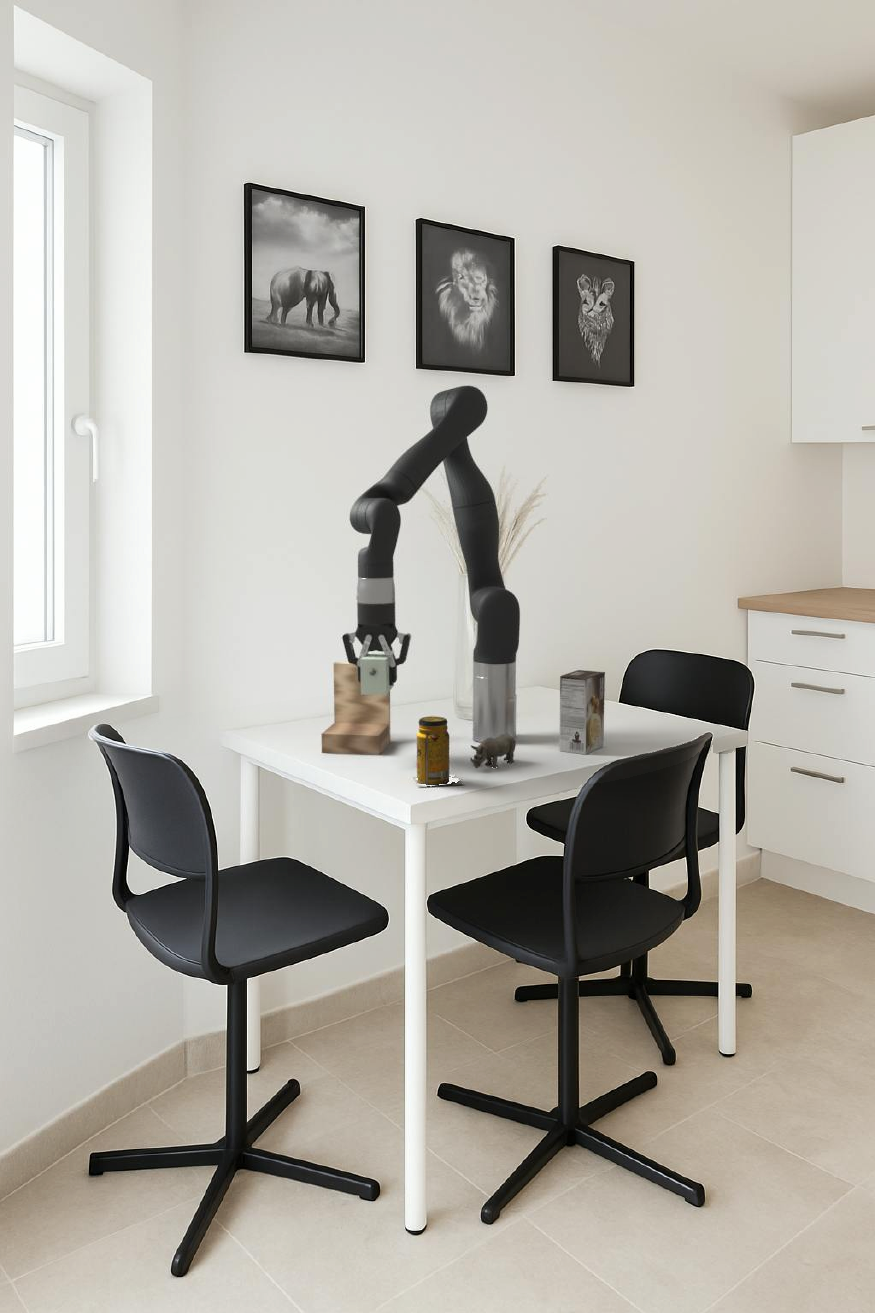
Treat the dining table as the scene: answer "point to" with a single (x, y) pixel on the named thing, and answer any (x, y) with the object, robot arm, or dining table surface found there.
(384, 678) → the mint green tall box
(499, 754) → the rhino figurine
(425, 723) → the condiment
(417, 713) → the dining table surface
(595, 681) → the coffee box
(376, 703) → the wall board
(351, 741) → the ledge
